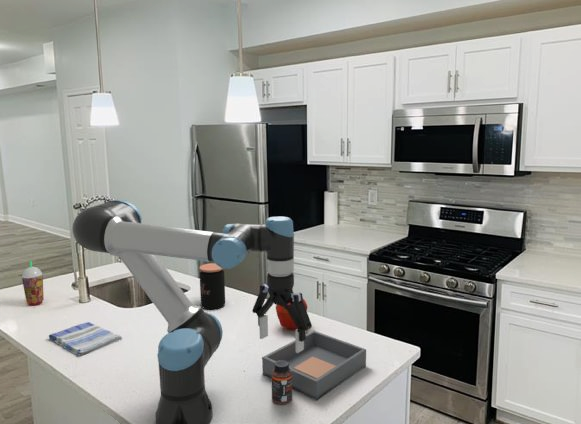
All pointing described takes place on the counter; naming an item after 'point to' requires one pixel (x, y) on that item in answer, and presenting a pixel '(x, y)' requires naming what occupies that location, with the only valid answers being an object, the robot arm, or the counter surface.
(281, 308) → the apple
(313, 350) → the bin
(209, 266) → the coffee jar
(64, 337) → the dish towel
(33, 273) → the smoothie
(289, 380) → the supplement bottle
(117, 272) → the counter surface
